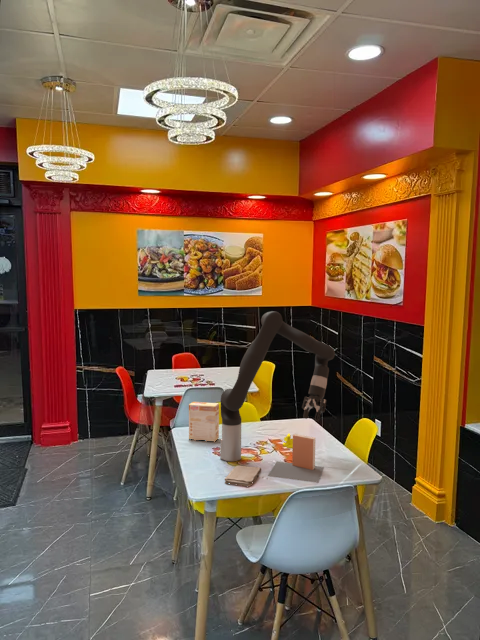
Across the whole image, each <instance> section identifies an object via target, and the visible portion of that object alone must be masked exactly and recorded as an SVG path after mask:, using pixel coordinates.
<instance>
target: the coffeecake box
mask: <svg viewBox="0 0 480 640" xmlns="http://www.w3.org/2000/svg"><path fill="white" fill-rule="evenodd" d="M219 418H220V403H218V402H203V401H202V402H201V401H192V402H191V403H189V404H188V440H189V439H194V440H193V441H196V440H206V441H205V442H207V441H214V442H213V443H216V442H217V441H218V440H219V439H220V436H219V435H220V434H219V433H220V431H219V429H220V428H219V427H220V426H219V425H220V424H219V423H220V419H219ZM218 438H219V439H218ZM217 439H218V440H217ZM216 440H217V441H216ZM215 441H216V442H215Z"/></svg>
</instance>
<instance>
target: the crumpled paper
mask: <svg viewBox="0 0 480 640" xmlns="http://www.w3.org/2000/svg"><path fill="white" fill-rule="evenodd" d="M283 441H285V442H283V443H282V447H283V448H284V447H286V449H293V437H292V438H291V433H288V434H287V435H286V436H285V437H284V438H283Z"/></svg>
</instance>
